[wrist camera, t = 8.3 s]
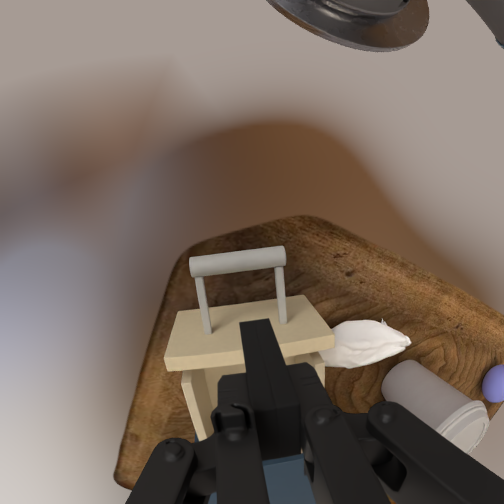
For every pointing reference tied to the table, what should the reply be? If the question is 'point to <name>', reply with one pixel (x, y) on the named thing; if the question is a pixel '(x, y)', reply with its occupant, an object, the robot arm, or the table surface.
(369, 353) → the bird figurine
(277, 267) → the drawer
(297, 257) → the table surface
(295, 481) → the cabinet
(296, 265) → the table surface
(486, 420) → the coffee cup
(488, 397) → the sphere
